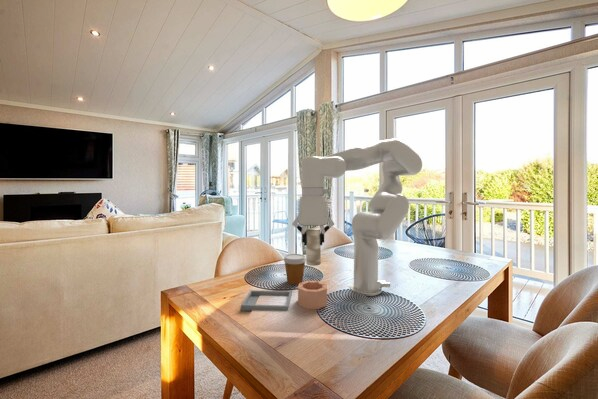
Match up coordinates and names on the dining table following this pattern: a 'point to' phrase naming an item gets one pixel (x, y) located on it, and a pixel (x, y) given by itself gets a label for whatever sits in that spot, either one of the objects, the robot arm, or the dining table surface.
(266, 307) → the tray
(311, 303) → the terracotta octagonal pot
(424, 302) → the dining table surface
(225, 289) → the dining table surface
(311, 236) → the peg
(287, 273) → the disposable coffee cup
